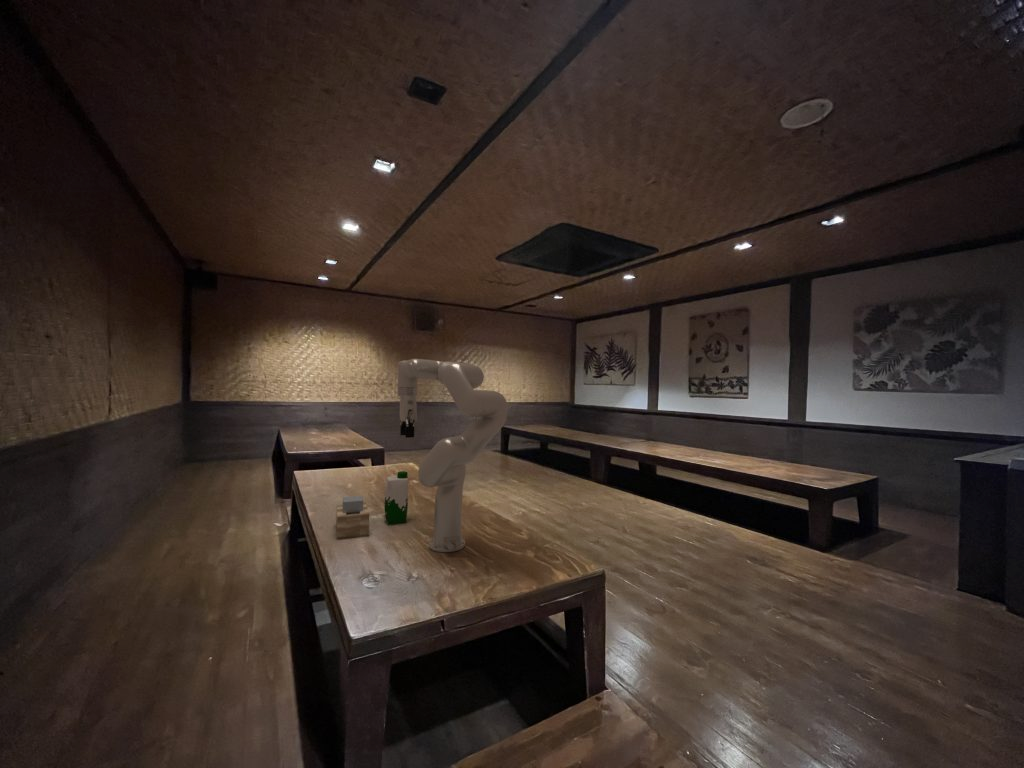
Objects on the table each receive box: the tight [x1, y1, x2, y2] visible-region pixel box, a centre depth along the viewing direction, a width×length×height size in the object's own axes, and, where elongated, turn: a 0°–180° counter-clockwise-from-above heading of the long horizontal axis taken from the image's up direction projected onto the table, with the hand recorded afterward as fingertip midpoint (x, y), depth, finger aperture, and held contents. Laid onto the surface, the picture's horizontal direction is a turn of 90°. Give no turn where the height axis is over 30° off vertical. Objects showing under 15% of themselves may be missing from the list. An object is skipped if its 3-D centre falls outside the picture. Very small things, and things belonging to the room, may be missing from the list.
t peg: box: [342, 495, 364, 515], centre depth 151 cm, size 7×7×10 cm
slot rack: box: [335, 502, 370, 541], centre depth 151 cm, size 16×11×8 cm
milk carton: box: [384, 470, 409, 526], centre depth 163 cm, size 9×9×20 cm
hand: (407, 436), depth 153 cm, fingers open, 9 cm apart
